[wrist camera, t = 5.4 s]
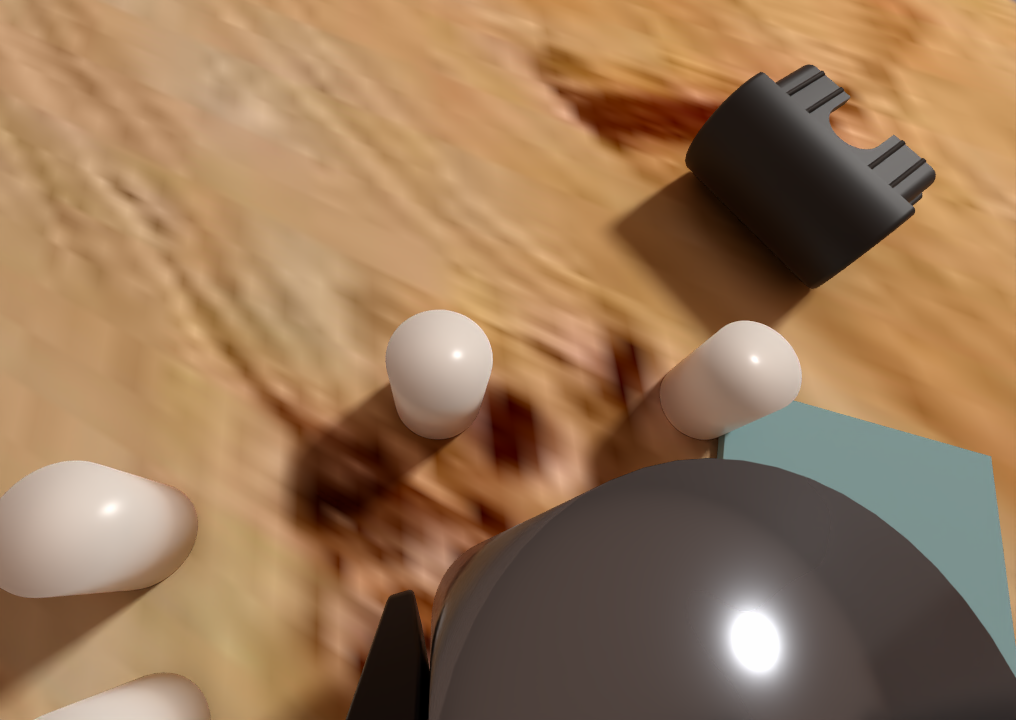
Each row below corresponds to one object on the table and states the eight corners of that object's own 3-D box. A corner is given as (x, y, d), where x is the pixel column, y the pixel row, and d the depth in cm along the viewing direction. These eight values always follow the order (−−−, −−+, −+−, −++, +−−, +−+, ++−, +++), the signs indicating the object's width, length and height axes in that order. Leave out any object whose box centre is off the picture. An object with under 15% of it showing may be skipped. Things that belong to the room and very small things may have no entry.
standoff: (551, 729, 14) (1125, 1519, 2) (406, 668, 15) (278, 1149, 3) (596, 569, 16) (1064, 582, 4) (466, 516, 16) (560, 377, 4)
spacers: (812, 577, 23) (905, 580, 19) (83, 829, 17) (-46, 927, 12) (695, 305, 28) (747, 254, 23) (85, 425, 22) (-9, 387, 17)
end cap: (661, 187, 31) (720, 92, 25) (737, 140, 33) (808, 42, 27) (783, 312, 29) (881, 242, 22) (855, 252, 31) (962, 174, 25)
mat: (1034, 912, 20) (1051, 922, 19) (686, 824, 19) (694, 832, 19) (979, 458, 27) (990, 456, 26) (722, 386, 26) (729, 382, 26)
